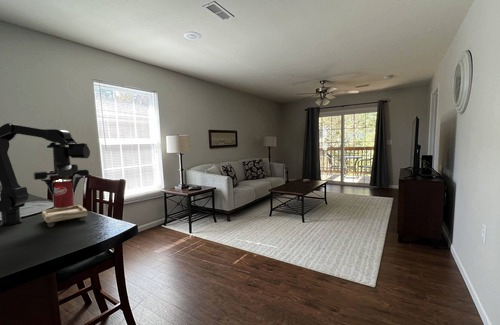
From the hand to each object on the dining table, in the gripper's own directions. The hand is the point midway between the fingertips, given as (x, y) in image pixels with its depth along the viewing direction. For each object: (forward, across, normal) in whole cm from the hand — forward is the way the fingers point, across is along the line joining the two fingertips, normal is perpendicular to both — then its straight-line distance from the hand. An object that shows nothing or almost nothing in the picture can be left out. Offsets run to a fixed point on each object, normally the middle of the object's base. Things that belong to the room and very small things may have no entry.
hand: (63, 193), depth 104 cm
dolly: (+13, 0, 0) cm, 13 cm away
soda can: (+6, 0, 0) cm, 6 cm away
